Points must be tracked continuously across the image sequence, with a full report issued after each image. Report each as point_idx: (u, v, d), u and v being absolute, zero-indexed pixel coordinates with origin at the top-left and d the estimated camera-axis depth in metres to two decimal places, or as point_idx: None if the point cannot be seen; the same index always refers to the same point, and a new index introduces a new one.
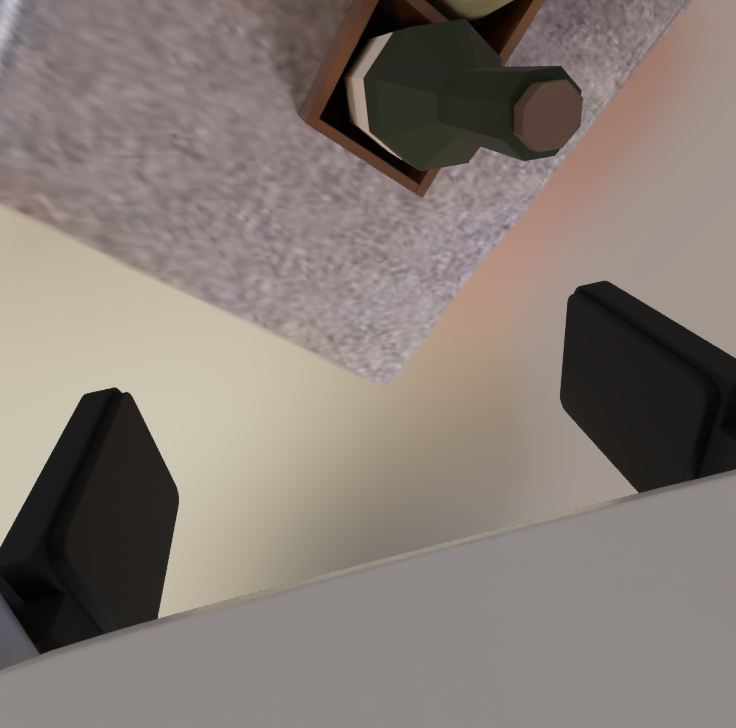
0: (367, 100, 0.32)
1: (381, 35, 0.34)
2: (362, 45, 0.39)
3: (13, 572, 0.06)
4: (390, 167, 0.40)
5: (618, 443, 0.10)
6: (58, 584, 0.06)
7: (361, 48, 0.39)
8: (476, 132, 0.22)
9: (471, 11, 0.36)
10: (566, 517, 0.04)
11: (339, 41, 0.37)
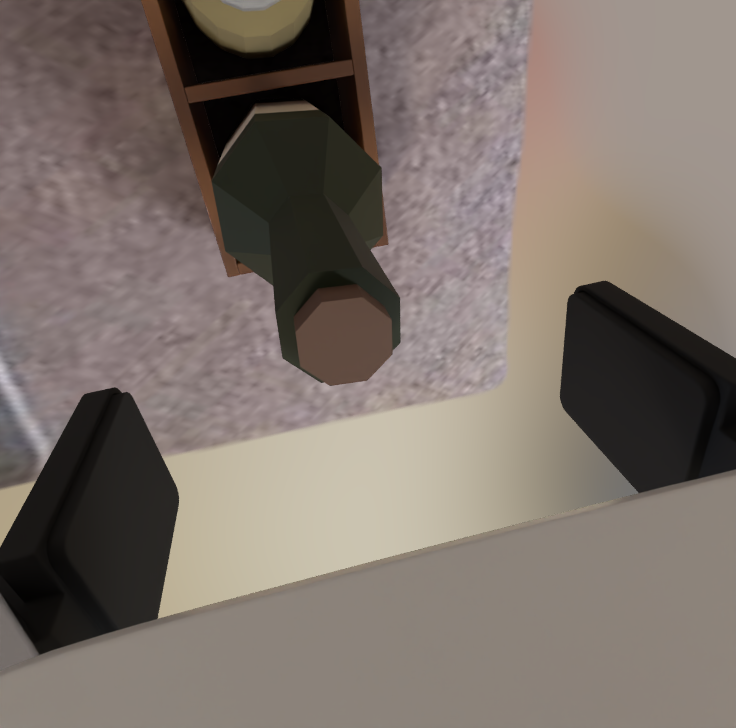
0: None
1: None
2: None
3: (13, 572, 0.06)
4: None
5: (618, 443, 0.10)
6: (58, 584, 0.06)
7: None
8: None
9: (287, 39, 0.27)
10: (566, 517, 0.04)
11: None
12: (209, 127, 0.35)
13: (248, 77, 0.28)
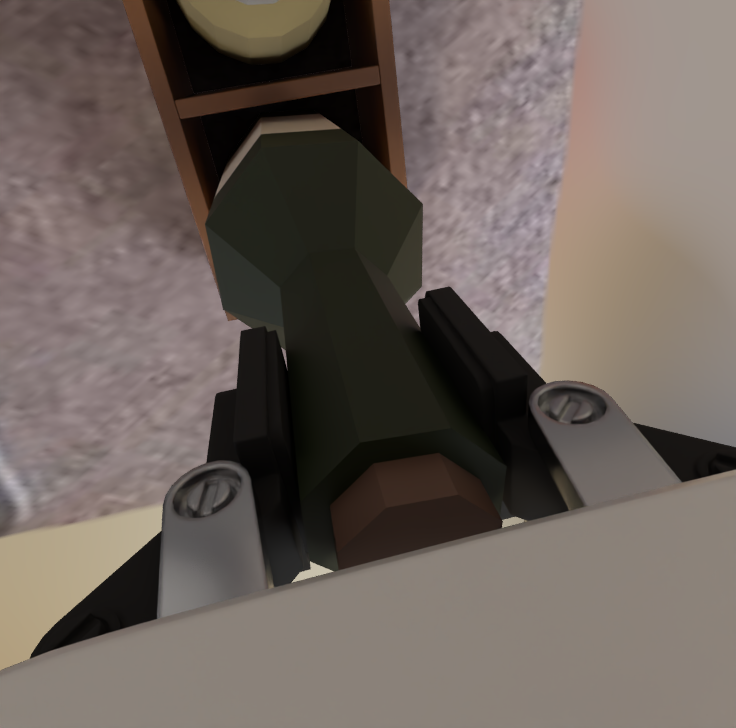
0: None
1: None
2: None
3: (247, 451, 0.07)
4: None
5: None
6: (275, 466, 0.08)
7: None
8: None
9: (300, 41, 0.22)
10: (566, 517, 0.04)
11: None
12: (207, 144, 0.30)
13: (252, 87, 0.23)
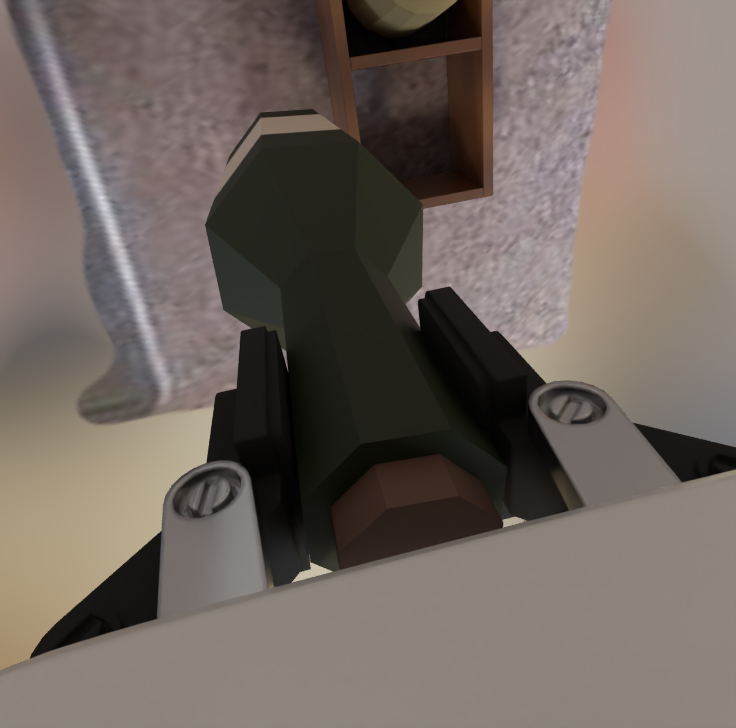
0: None
1: (220, 182, 0.23)
2: None
3: (247, 451, 0.07)
4: (449, 195, 0.40)
5: None
6: (275, 466, 0.08)
7: None
8: None
9: (432, 19, 0.34)
10: (566, 517, 0.04)
11: None
12: None
13: (399, 50, 0.34)
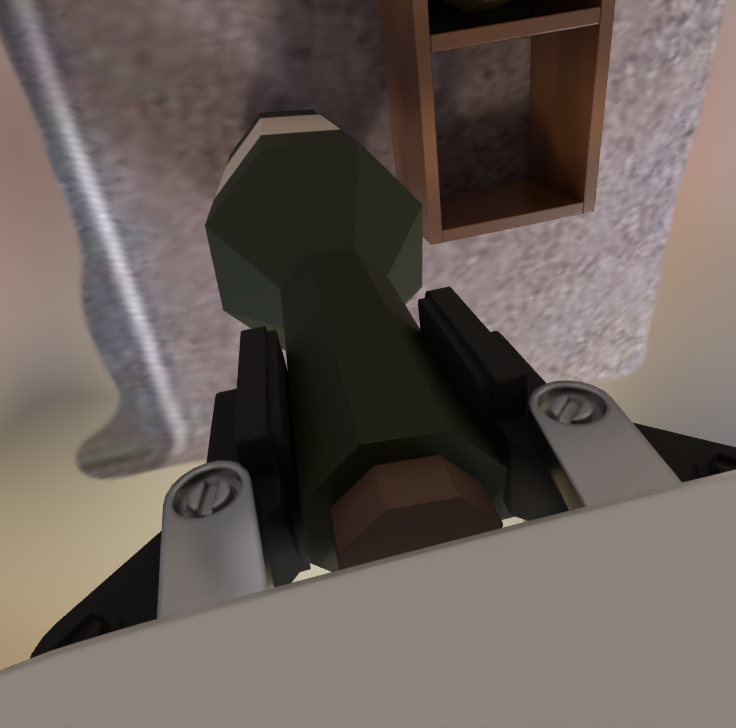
0: None
1: None
2: None
3: (247, 451, 0.07)
4: (541, 212, 0.32)
5: None
6: (275, 466, 0.08)
7: None
8: None
9: None
10: (566, 517, 0.04)
11: (408, 134, 0.31)
12: None
13: (495, 25, 0.26)
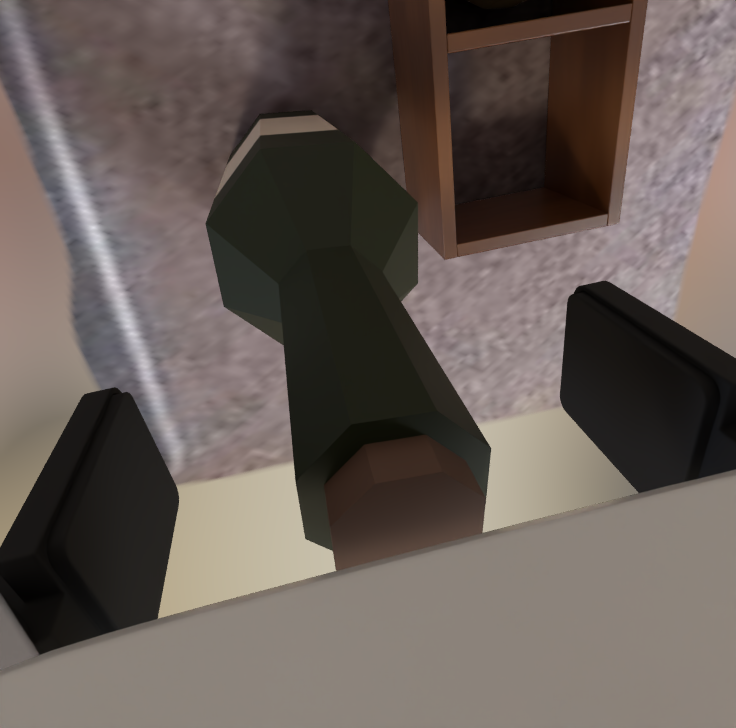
0: None
1: (220, 182, 0.24)
2: None
3: (13, 572, 0.06)
4: (563, 224, 0.29)
5: (618, 443, 0.10)
6: (58, 584, 0.06)
7: None
8: None
9: None
10: (566, 517, 0.04)
11: (420, 141, 0.29)
12: None
13: (517, 23, 0.24)
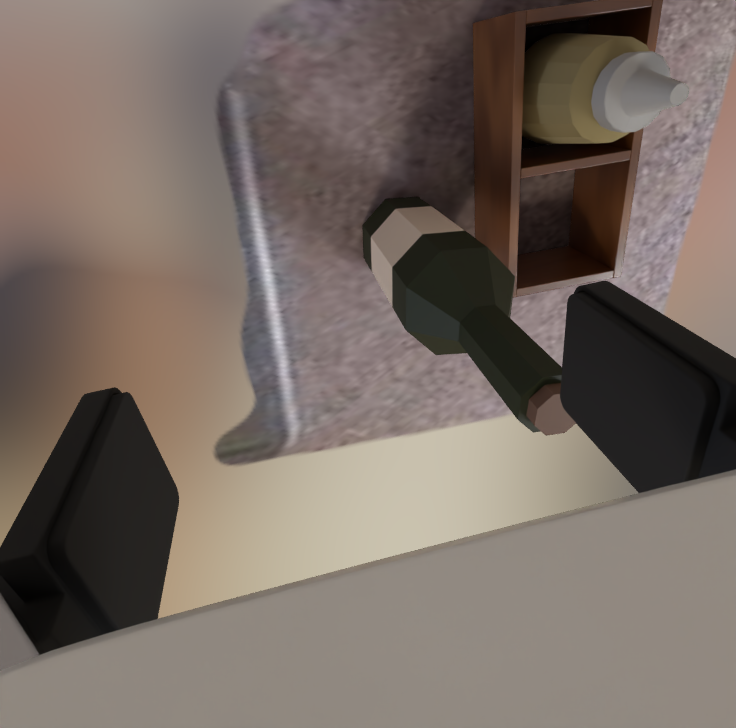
0: None
1: (382, 253, 0.39)
2: (368, 238, 0.45)
3: (13, 572, 0.06)
4: (584, 277, 0.45)
5: (618, 443, 0.10)
6: (58, 584, 0.06)
7: (369, 243, 0.44)
8: None
9: None
10: (566, 517, 0.04)
11: (493, 222, 0.44)
12: None
13: (562, 161, 0.40)
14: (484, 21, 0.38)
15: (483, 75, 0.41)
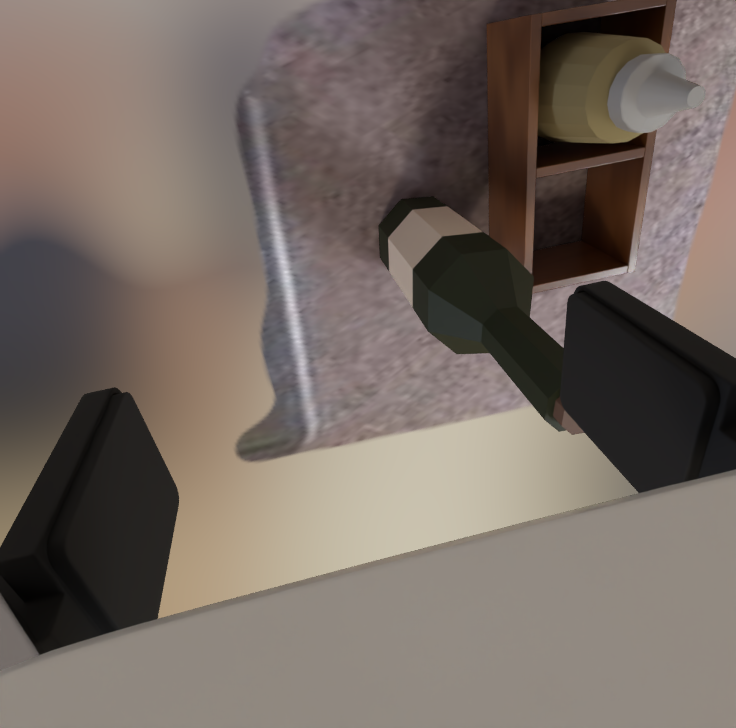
0: None
1: (401, 254, 0.40)
2: (385, 239, 0.45)
3: (13, 572, 0.06)
4: (599, 272, 0.46)
5: (618, 443, 0.10)
6: (58, 584, 0.06)
7: (387, 243, 0.45)
8: None
9: None
10: (566, 517, 0.04)
11: (508, 220, 0.45)
12: None
13: (577, 160, 0.40)
14: (498, 22, 0.39)
15: (497, 76, 0.41)
